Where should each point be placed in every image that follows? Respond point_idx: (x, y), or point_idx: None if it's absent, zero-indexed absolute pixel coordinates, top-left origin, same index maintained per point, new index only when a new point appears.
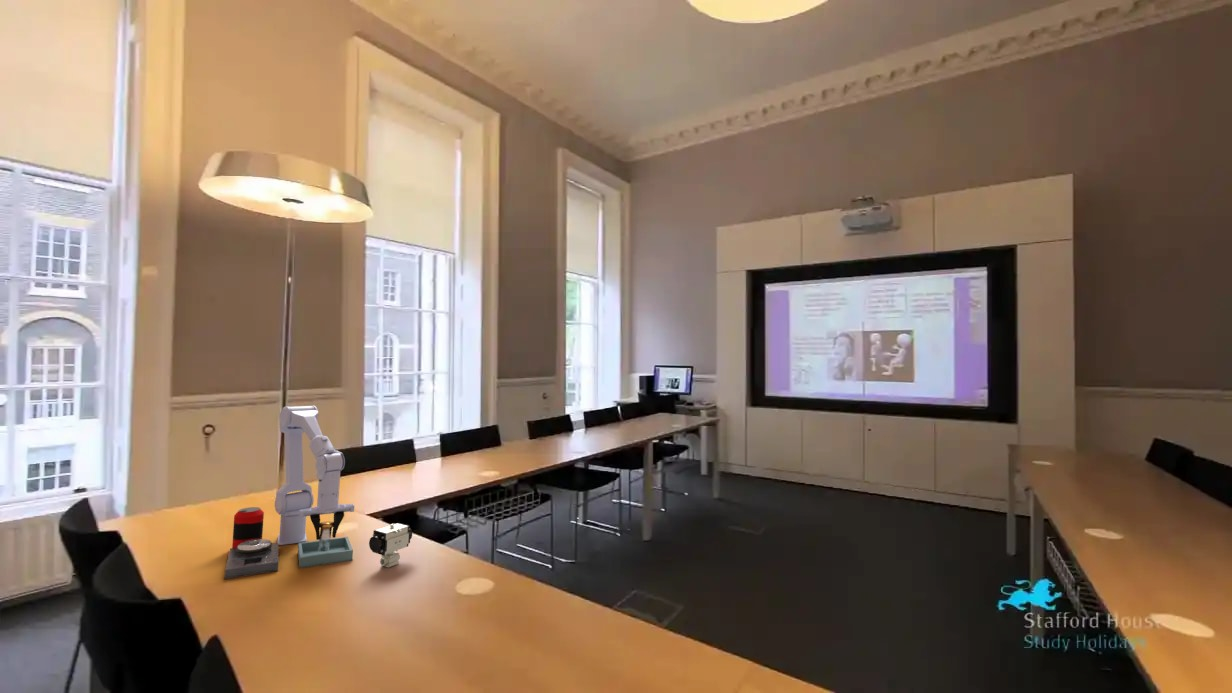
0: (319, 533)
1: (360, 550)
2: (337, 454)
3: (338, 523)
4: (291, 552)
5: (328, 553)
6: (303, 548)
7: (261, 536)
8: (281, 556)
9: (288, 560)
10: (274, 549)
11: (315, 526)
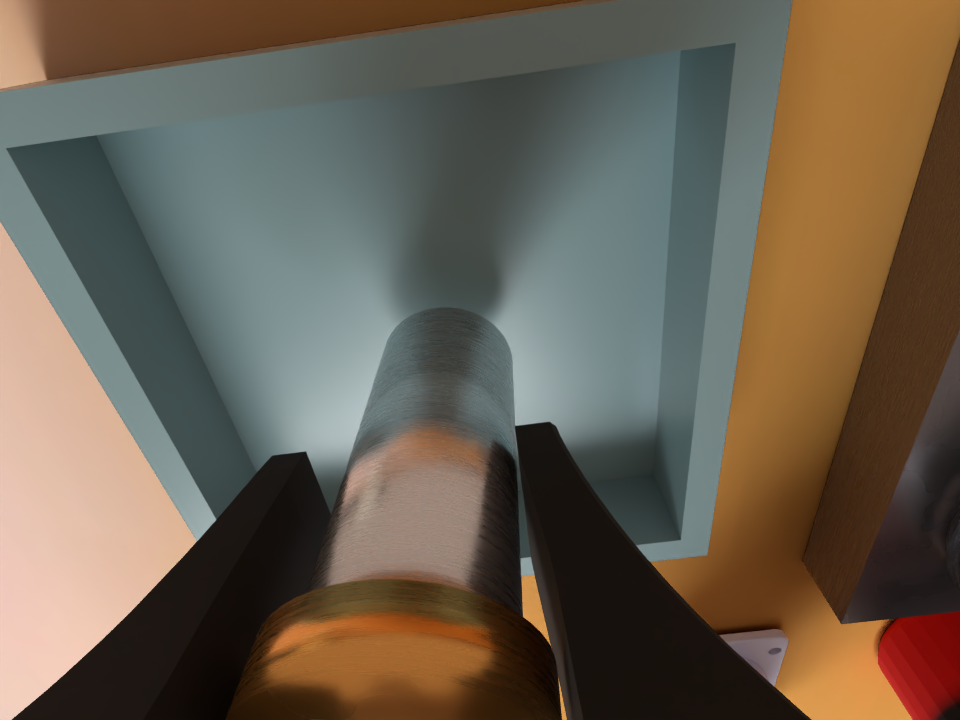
0: (532, 495)
1: (86, 395)
2: None
3: (51, 712)
4: (716, 501)
5: (330, 60)
6: (642, 499)
7: (948, 710)
8: (807, 440)
9: (776, 327)
10: (930, 482)
11: (685, 639)
